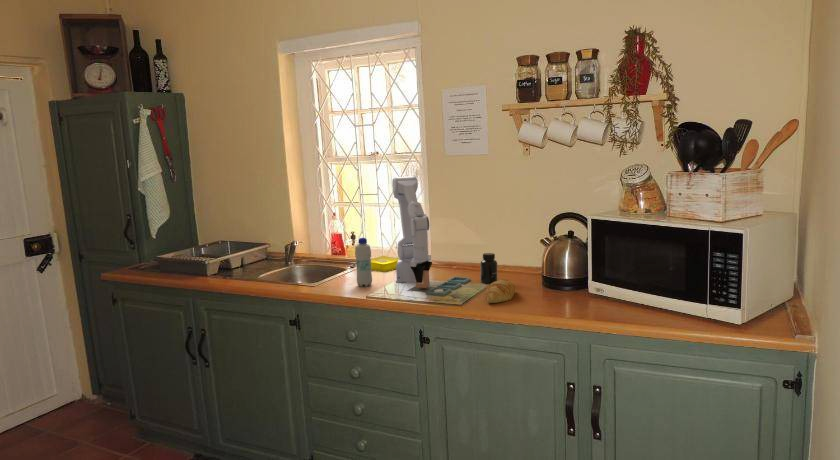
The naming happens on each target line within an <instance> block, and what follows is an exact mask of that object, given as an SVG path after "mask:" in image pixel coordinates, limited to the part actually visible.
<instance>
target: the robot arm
mask: <svg viewBox="0 0 840 460" xmlns="http://www.w3.org/2000/svg"><path fill="white" fill-rule="evenodd" d="M418 181H419V180H418V178H417V177H416V176H415V175H413V176H393V178H392V194H393V198H394V199H396V200H397V201H398V205H399V206H398V207H399V212H400V220H401V221H400V223H401V228H402V238H401V239H399V240H398V243H397V258H399V259H400V260H399V261H398V262H397V265H396V269H395V270H396V272H395V274H396V280H395V282H396V283H402V284H403V283H406V284H407V283H408V284H416V282H417V283H422V280H423V271H424V270H427V271H429V272H430V269H431V267H432V265H433V261H431V260H432V254H429V239H428V238H429V237H428V234H429V233H428V232H429V230H430V219H429V216H428V215H427V214H425V212H424V209H423V206H422V204H421V203H420V202H419V201H418V198H417V194H416V193H417V191H418V188H419V187H418V186H419V182H418Z"/></svg>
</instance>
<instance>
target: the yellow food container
mask: <svg viewBox="0 0 840 460" xmlns="http://www.w3.org/2000/svg"><path fill="white" fill-rule="evenodd" d="M399 260H400V259H399V257H398V256H397V257H396V256H388V255H381V256H378V257H377V256H376V257H373V258H371V271H375V272H380V273H381V272H383V273H384V272H385V273H386V272H390V271H394V270H396V265H397V262H398V261H399Z"/></svg>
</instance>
